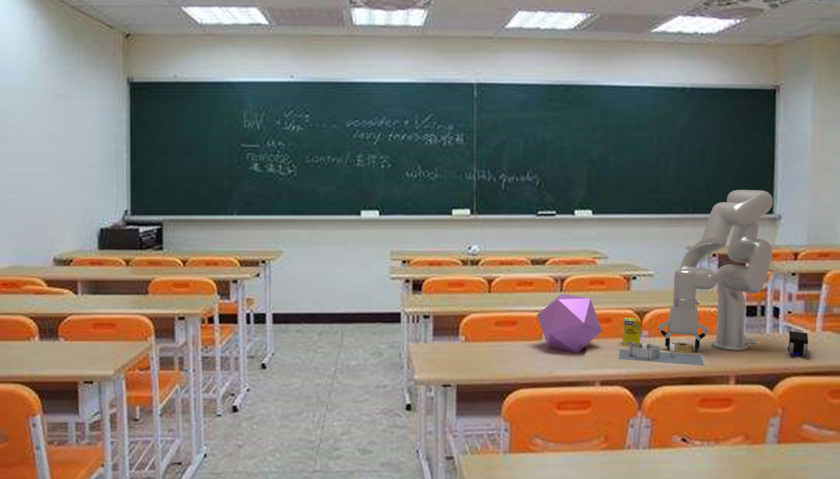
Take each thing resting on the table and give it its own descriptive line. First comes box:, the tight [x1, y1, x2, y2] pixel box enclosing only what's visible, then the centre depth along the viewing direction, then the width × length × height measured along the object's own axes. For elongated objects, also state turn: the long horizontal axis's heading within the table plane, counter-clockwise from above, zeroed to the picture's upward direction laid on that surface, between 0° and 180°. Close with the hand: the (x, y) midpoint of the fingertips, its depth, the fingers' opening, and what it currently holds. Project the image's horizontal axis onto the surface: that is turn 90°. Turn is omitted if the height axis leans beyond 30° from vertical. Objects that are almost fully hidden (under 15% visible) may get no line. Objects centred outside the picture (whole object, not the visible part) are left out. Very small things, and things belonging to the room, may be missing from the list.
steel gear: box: [628, 342, 661, 360], centre depth 257 cm, size 10×10×4 cm
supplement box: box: [622, 317, 642, 347], centre depth 274 cm, size 6×6×11 cm
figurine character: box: [787, 330, 809, 359], centre depth 266 cm, size 7×8×15 cm
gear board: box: [618, 342, 705, 367], centre depth 256 cm, size 28×15×6 cm, turn 73°
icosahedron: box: [536, 293, 603, 354], centre depth 272 cm, size 22×21×24 cm
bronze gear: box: [671, 341, 694, 354], centre depth 266 cm, size 7×7×4 cm
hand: (682, 349), depth 266 cm, fingers open, 9 cm apart
